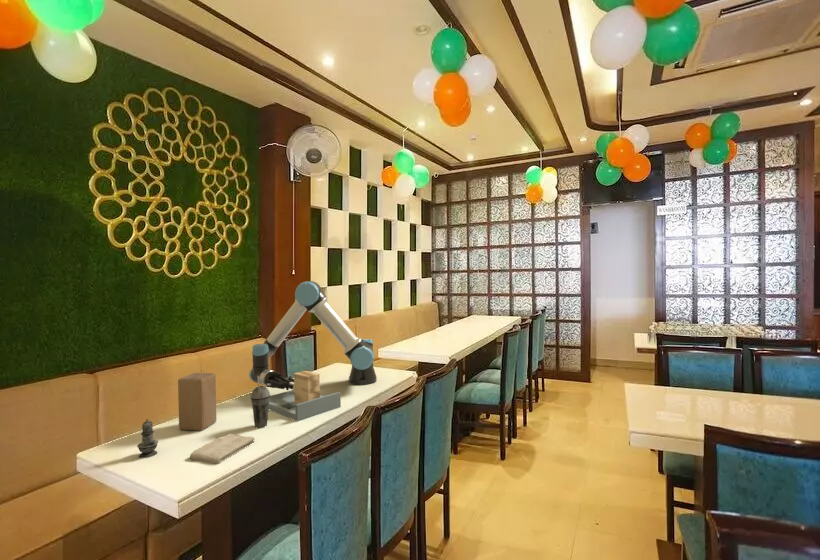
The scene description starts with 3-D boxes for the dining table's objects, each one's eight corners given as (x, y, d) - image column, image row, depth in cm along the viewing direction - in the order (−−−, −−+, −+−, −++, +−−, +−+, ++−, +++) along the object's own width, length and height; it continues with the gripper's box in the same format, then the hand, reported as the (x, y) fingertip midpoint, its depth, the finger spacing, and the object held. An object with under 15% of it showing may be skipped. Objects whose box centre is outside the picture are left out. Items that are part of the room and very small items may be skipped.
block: (217, 421, 164) (216, 372, 163) (202, 431, 154) (201, 379, 153) (194, 421, 165) (193, 372, 164) (177, 430, 155) (176, 378, 154)
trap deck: (299, 393, 201) (299, 380, 201) (340, 407, 180) (340, 392, 180) (257, 404, 184) (257, 390, 184) (297, 421, 163) (297, 405, 163)
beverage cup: (274, 423, 161) (273, 373, 161) (262, 430, 154) (261, 378, 154) (259, 421, 163) (258, 372, 163) (246, 428, 156) (245, 376, 156)
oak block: (305, 399, 184) (305, 370, 183) (319, 403, 177) (319, 373, 177) (294, 402, 179) (294, 373, 179) (308, 407, 173) (308, 376, 172)
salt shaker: (143, 450, 137) (143, 415, 137) (162, 450, 138) (161, 415, 138) (133, 458, 132) (132, 422, 131) (152, 458, 132) (151, 421, 132)
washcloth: (257, 443, 144) (256, 434, 144) (218, 466, 127) (218, 456, 127) (229, 439, 148) (229, 430, 148) (189, 461, 131) (188, 451, 131)
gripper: (283, 383, 201) (311, 392, 186) (258, 389, 192) (285, 399, 176) (282, 368, 201) (310, 376, 186) (258, 373, 191) (285, 382, 176)
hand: (298, 387), depth 181 cm, fingers closed
